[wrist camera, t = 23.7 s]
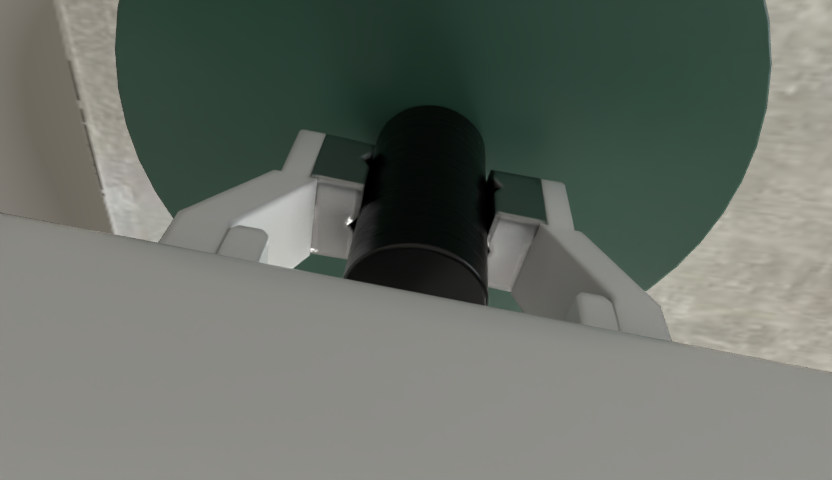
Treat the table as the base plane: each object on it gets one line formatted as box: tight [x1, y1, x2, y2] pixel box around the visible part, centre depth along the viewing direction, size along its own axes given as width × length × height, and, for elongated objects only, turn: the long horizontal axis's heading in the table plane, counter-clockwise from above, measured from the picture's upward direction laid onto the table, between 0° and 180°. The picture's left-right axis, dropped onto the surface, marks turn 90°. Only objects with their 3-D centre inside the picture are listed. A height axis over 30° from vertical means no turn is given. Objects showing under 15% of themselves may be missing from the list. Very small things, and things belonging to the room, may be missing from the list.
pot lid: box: [115, 0, 772, 313], centre depth 12 cm, size 14×14×6 cm
